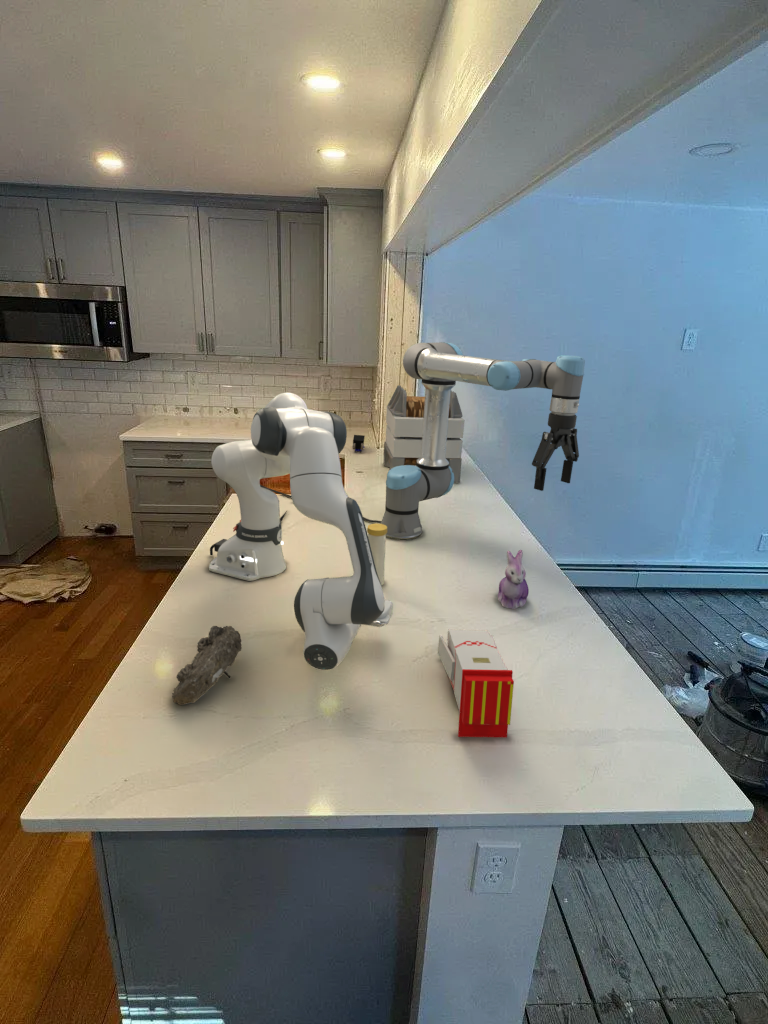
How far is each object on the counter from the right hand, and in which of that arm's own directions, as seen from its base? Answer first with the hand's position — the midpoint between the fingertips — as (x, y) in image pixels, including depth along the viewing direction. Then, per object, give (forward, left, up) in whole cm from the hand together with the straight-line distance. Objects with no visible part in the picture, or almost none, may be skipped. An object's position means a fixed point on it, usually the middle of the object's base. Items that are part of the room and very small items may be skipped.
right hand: (552, 485), depth 166 cm
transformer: (-101, +46, -28) cm, 115 cm away
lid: (-24, -46, -11) cm, 53 cm away
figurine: (+7, -22, -28) cm, 36 cm away
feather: (-87, -37, -28) cm, 99 cm away
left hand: (-11, -63, -20) cm, 67 cm away
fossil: (-11, -101, -28) cm, 106 cm away
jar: (-24, -46, -28) cm, 59 cm away
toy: (+26, -62, -28) cm, 72 cm away
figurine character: (-152, +49, -28) cm, 162 cm away
